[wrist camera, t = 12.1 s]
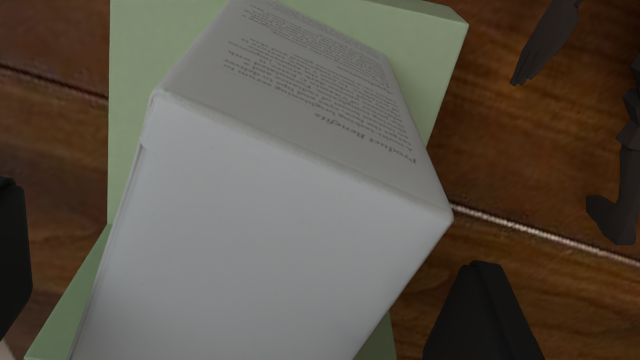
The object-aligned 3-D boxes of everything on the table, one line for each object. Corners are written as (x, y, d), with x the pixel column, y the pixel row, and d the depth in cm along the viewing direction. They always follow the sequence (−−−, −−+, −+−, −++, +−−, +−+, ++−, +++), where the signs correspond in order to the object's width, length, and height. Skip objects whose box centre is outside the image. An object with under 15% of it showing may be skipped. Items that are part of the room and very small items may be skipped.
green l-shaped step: (139, -66, 19) (-16, -25, 10) (450, 6, 20) (551, 97, 11) (126, 269, 27) (32, 455, 18) (351, 305, 28) (366, 495, 19)
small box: (297, 223, 21) (280, 472, 12) (167, 172, 20) (43, 407, 11) (391, 51, 18) (468, 223, 9) (241, -23, 17) (149, 87, 8)
